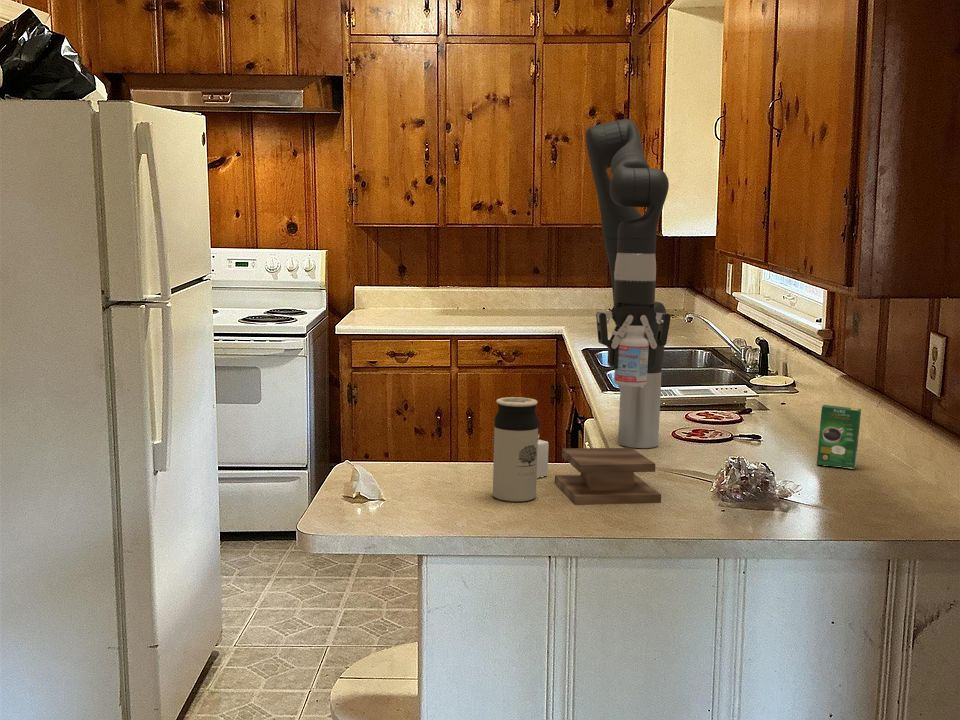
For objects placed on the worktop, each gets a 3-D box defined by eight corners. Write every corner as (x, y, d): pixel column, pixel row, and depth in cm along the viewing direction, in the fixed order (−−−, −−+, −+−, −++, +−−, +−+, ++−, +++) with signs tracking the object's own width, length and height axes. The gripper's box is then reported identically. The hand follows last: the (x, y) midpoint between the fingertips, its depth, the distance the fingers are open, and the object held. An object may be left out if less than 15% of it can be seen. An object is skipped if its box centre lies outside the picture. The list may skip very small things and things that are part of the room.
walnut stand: (554, 482, 202) (555, 447, 201) (633, 481, 205) (635, 446, 204) (575, 504, 186) (576, 466, 186) (660, 502, 189) (662, 464, 188)
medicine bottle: (522, 470, 212) (523, 412, 211) (548, 476, 207) (550, 417, 206) (497, 475, 207) (499, 416, 206) (523, 482, 202) (525, 421, 201)
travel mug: (485, 493, 193) (488, 397, 190) (524, 490, 196) (527, 396, 194) (503, 504, 185) (506, 405, 183) (543, 500, 189) (546, 402, 186)
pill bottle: (607, 384, 193) (610, 324, 192) (624, 381, 198) (627, 322, 196) (636, 388, 189) (639, 327, 188) (653, 384, 194) (655, 325, 193)
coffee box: (857, 468, 221) (862, 407, 219) (855, 470, 218) (860, 409, 217) (818, 463, 225) (822, 403, 223) (816, 466, 222) (820, 405, 220)
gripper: (603, 278, 186) (599, 371, 188) (679, 279, 189) (675, 371, 191) (591, 276, 193) (588, 365, 195) (665, 277, 196) (661, 365, 198)
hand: (631, 368), depth 193 cm, fingers closed on pill bottle, 6 cm apart
